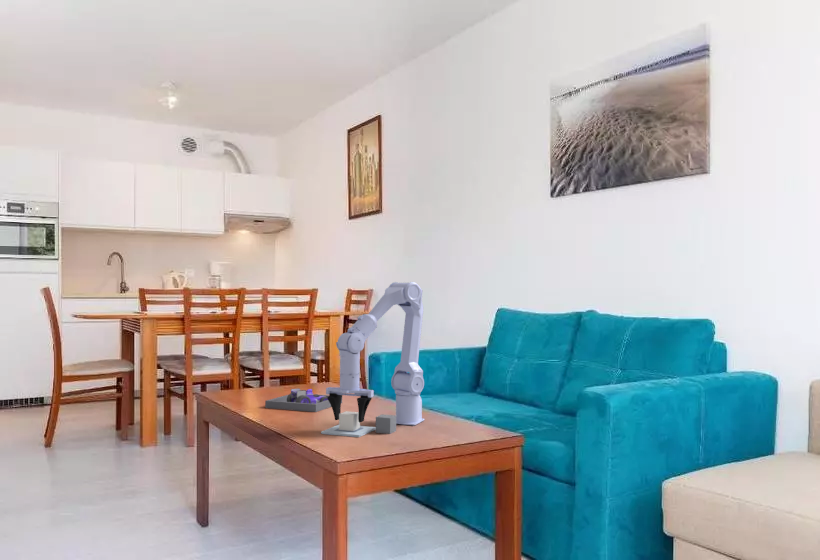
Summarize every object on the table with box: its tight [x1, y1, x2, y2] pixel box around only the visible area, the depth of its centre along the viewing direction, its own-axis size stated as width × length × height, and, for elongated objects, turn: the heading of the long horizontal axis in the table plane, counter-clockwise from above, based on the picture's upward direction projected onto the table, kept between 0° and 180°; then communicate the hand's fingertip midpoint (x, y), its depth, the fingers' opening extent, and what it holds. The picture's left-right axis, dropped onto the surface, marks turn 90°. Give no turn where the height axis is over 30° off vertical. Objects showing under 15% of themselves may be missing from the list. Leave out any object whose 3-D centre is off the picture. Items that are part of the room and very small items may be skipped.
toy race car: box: [287, 387, 328, 404], centre depth 236 cm, size 10×15×6 cm, turn 126°
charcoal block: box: [375, 414, 397, 435], centre depth 192 cm, size 5×5×5 cm
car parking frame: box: [264, 393, 343, 413], centre depth 235 cm, size 20×20×2 cm
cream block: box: [338, 410, 361, 431], centre depth 192 cm, size 5×5×5 cm
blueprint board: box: [320, 424, 376, 438], centre depth 192 cm, size 12×12×1 cm
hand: (349, 420), depth 192 cm, fingers open, 7 cm apart
